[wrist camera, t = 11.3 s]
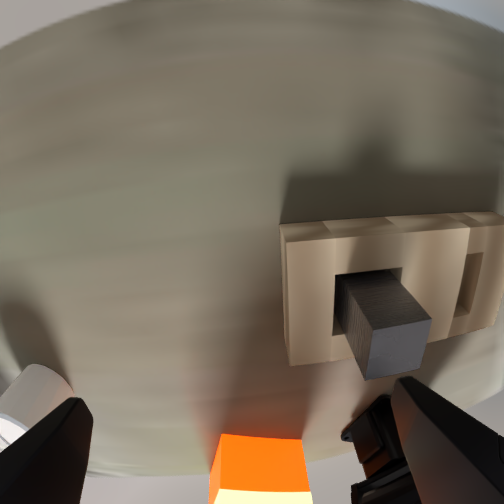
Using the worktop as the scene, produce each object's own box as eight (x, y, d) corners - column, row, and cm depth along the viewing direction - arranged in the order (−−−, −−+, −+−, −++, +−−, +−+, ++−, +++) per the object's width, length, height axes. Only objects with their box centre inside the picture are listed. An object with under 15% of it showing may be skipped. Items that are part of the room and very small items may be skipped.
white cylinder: (28, 398, 24) (1, 446, 18) (12, 349, 22) (-25, 399, 15) (85, 419, 25) (64, 474, 19) (75, 371, 23) (44, 432, 16)
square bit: (374, 254, 20) (432, 318, 13) (371, 296, 21) (419, 368, 14) (330, 259, 20) (373, 330, 13) (329, 301, 21) (364, 380, 14)
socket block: (491, 211, 19) (517, 224, 16) (473, 306, 22) (493, 325, 19) (279, 224, 19) (286, 242, 16) (284, 337, 22) (289, 366, 19)
